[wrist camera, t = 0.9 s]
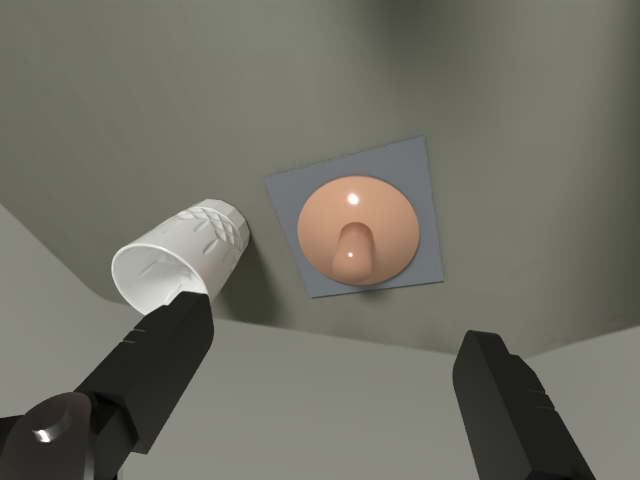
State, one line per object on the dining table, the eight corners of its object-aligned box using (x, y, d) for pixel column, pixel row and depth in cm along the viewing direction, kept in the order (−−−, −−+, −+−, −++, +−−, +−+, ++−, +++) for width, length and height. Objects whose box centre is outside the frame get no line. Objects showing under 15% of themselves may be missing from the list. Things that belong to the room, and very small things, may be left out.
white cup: (250, 268, 34) (206, 337, 25) (183, 247, 34) (116, 309, 25) (260, 206, 29) (211, 264, 21) (184, 182, 30) (104, 230, 21)
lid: (407, 160, 24) (414, 185, 19) (425, 270, 29) (435, 314, 24) (283, 190, 28) (261, 219, 22) (318, 285, 32) (307, 326, 27)
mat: (423, 135, 24) (424, 136, 23) (443, 277, 30) (444, 280, 29) (265, 176, 28) (263, 178, 27) (310, 294, 34) (309, 297, 33)
